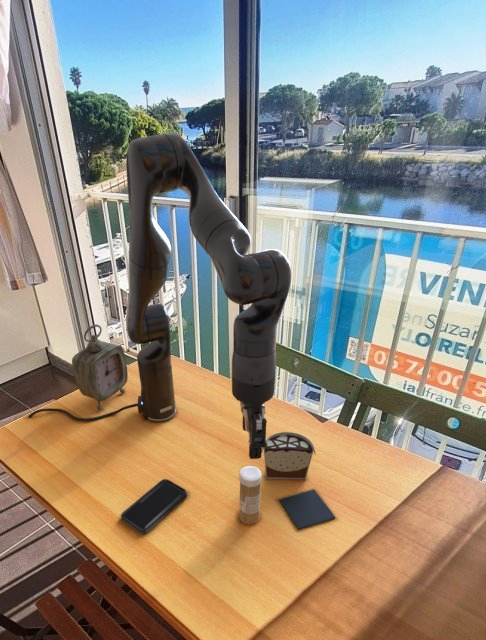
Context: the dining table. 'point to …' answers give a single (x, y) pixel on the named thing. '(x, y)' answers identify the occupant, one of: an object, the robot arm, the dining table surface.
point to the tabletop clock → (100, 369)
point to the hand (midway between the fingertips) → (251, 443)
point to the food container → (287, 456)
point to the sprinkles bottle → (249, 494)
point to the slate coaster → (306, 509)
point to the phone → (154, 506)
